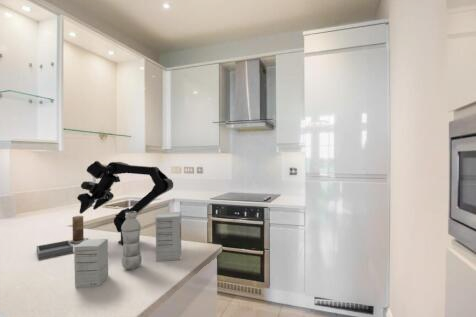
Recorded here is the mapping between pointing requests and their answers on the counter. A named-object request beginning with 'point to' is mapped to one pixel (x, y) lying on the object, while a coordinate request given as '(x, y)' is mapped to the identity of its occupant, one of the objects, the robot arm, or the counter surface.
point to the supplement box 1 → (91, 262)
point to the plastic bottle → (131, 241)
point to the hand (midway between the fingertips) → (87, 211)
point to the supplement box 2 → (168, 236)
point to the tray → (54, 249)
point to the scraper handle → (78, 230)
